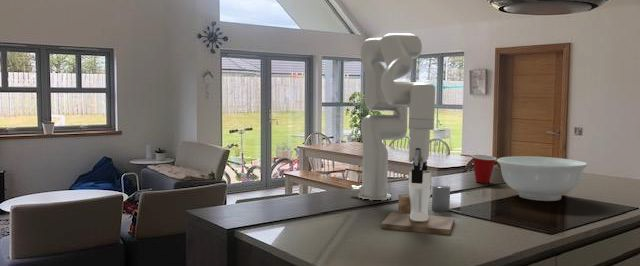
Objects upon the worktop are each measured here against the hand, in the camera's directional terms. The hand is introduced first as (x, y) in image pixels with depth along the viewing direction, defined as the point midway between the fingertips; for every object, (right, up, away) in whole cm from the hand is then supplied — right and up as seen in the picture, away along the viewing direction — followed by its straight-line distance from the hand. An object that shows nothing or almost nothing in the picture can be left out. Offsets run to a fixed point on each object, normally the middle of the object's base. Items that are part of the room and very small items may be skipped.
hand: (419, 180), depth 171 cm
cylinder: (+11, -12, +23) cm, 29 cm away
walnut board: (0, -14, +1) cm, 14 cm away
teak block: (-1, -13, +17) cm, 21 cm away
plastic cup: (+43, -8, +81) cm, 92 cm away
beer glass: (0, -12, +1) cm, 13 cm away
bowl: (+55, -11, +48) cm, 74 cm away
